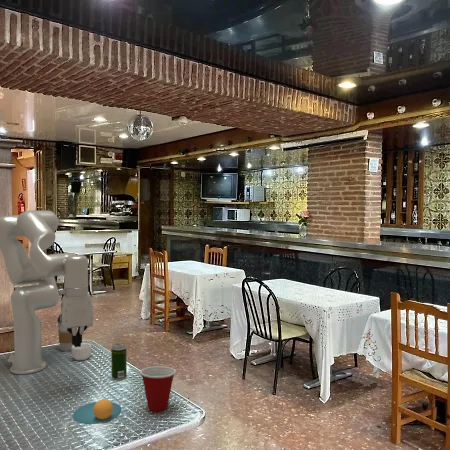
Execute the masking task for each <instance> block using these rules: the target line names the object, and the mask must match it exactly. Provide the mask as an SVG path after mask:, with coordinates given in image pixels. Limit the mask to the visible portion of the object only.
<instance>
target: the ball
mask: <svg viewBox="0 0 450 450" xmlns="http://www.w3.org/2000/svg"><path fill="white" fill-rule="evenodd" d="M96 402H97V403H96V404H95V406H94V410H93V411H94V415H95V416H96V417H97V418H98V419H102V420H103V419H107V418H108V417H109V416H110V415H111V414H112V411H113V405H112V403H111V402H112V401H110V399H106V398H103V399H100V400H98V401H96Z"/></svg>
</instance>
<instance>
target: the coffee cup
mask: <svg viewBox="0 0 450 450" xmlns="http://www.w3.org/2000/svg"><path fill="white" fill-rule="evenodd" d="M60 327H61V323H60V314H58V317H57V328H58V329H57V332H58V342H59V349H60V350H61V351H62V352H72V346H73V344H72V334H71V333H69V332H68V331H61V330H60ZM75 329H76V333H77V331H78V327H75Z"/></svg>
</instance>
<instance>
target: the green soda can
mask: <svg viewBox="0 0 450 450" xmlns="http://www.w3.org/2000/svg"><path fill="white" fill-rule="evenodd" d="M110 349H111V353H110V355H111V361H110V362H111V379H112V380H113V379H114V380H113V381H121V380H125V379H126V378H127V375H128V373H127V372H128V371H127V369H128V365H127V364H128V363H127V361H128V360H127V358H128V357H127V344H126V343H124V342H118V343H117V342H116V343H113V344H112V345H111V348H110Z"/></svg>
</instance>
